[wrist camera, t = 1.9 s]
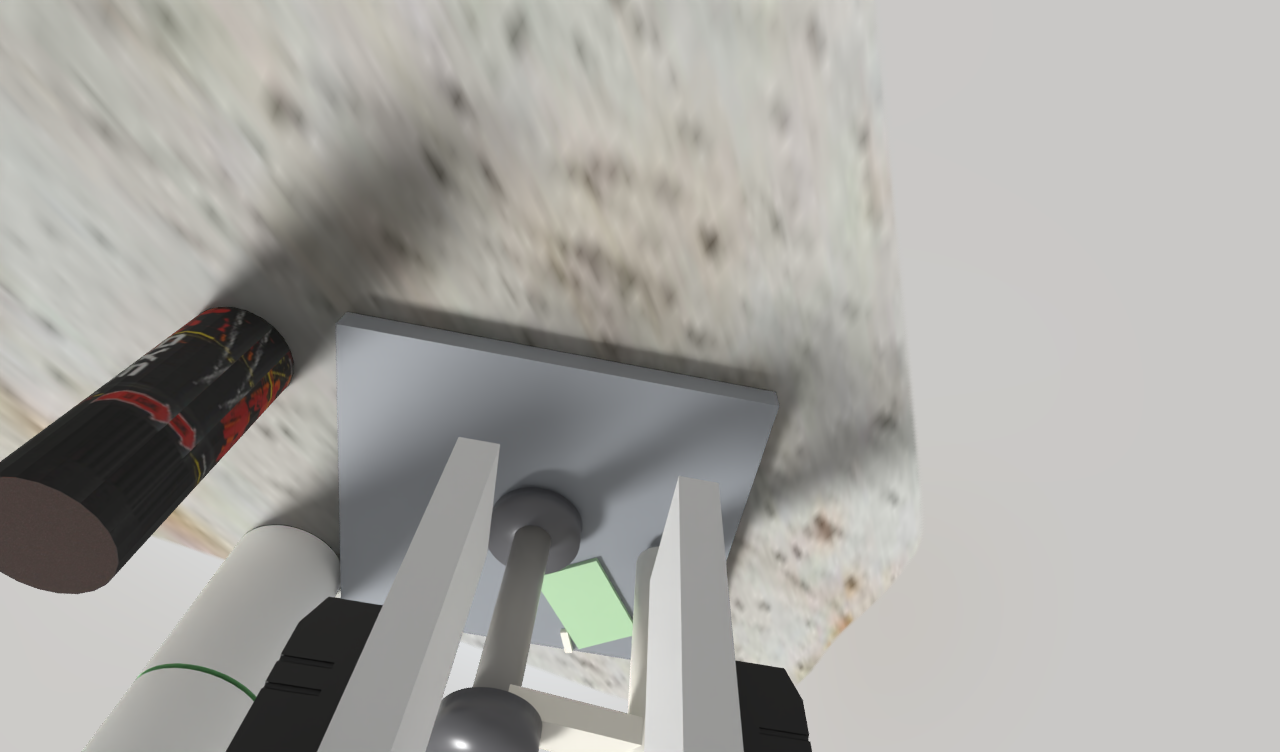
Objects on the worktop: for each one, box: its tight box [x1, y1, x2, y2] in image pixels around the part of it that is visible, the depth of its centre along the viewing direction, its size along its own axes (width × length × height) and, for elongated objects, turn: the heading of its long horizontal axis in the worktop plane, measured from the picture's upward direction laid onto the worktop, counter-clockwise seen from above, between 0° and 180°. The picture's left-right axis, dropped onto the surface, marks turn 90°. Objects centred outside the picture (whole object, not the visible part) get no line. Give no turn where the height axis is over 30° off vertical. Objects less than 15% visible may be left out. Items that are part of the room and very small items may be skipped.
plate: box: [336, 312, 779, 660], centre depth 45 cm, size 24×22×2 cm
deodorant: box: [0, 307, 294, 594], centre depth 34 cm, size 6×6×15 cm
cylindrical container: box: [82, 525, 341, 752], centre depth 38 cm, size 7×7×25 cm
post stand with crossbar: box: [426, 487, 659, 752], centre depth 38 cm, size 12×6×15 cm, turn 71°
